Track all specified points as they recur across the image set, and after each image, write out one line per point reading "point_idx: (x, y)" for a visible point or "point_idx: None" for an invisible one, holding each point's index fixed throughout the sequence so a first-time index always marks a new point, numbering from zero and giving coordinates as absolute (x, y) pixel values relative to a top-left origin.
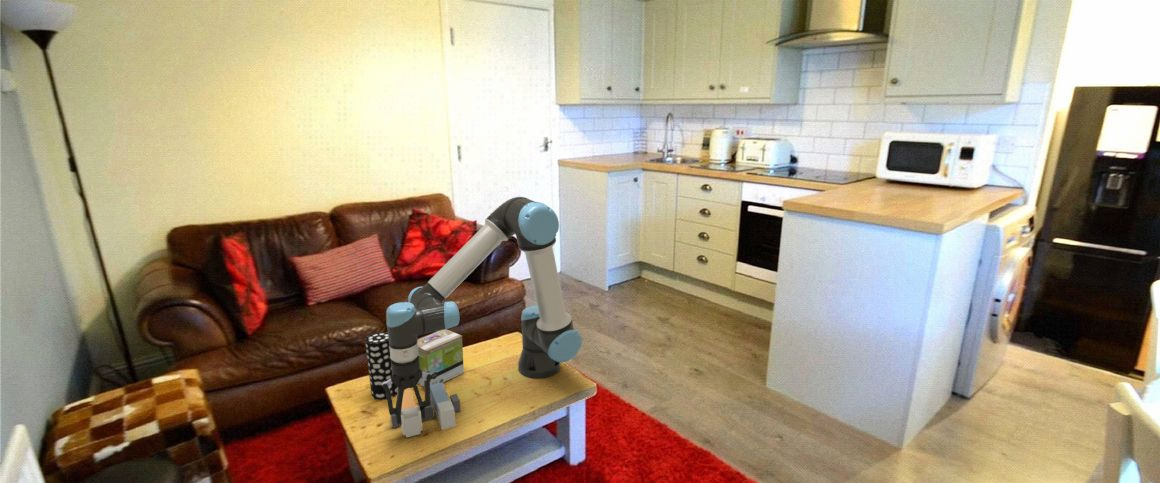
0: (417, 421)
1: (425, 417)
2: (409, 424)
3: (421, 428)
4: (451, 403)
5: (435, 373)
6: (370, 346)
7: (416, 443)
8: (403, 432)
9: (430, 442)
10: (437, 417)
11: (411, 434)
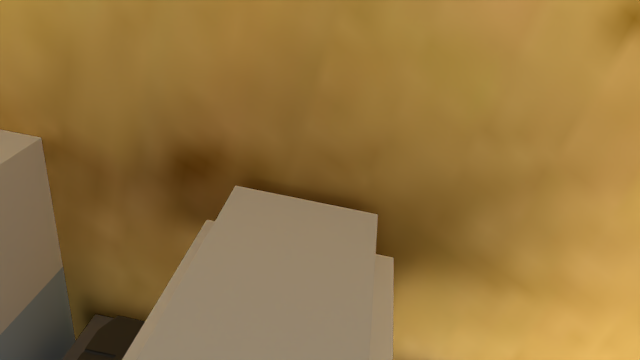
0: (200, 298)
1: None
2: (312, 308)
3: (206, 234)
4: None
5: None
6: None
7: (313, 82)
8: (386, 276)
9: (173, 6)
10: (68, 304)
11: (321, 214)
